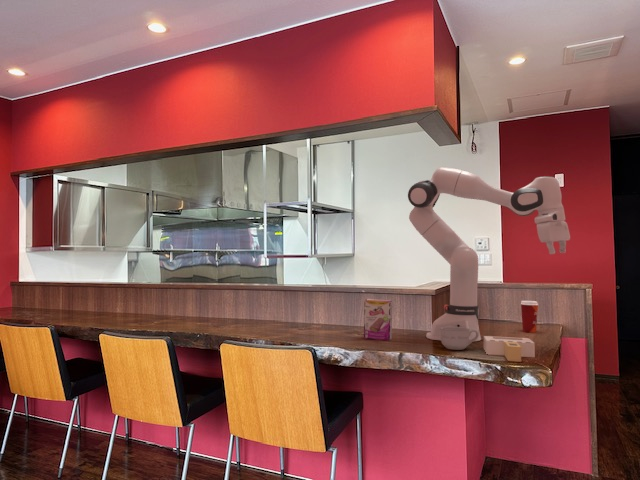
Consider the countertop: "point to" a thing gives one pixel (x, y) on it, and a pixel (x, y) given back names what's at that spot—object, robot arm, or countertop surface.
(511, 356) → the stub
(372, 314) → the candy bar box
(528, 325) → the paper cup
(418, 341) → the countertop surface
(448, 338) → the teacup
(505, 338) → the ticket block
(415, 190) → the robot arm
